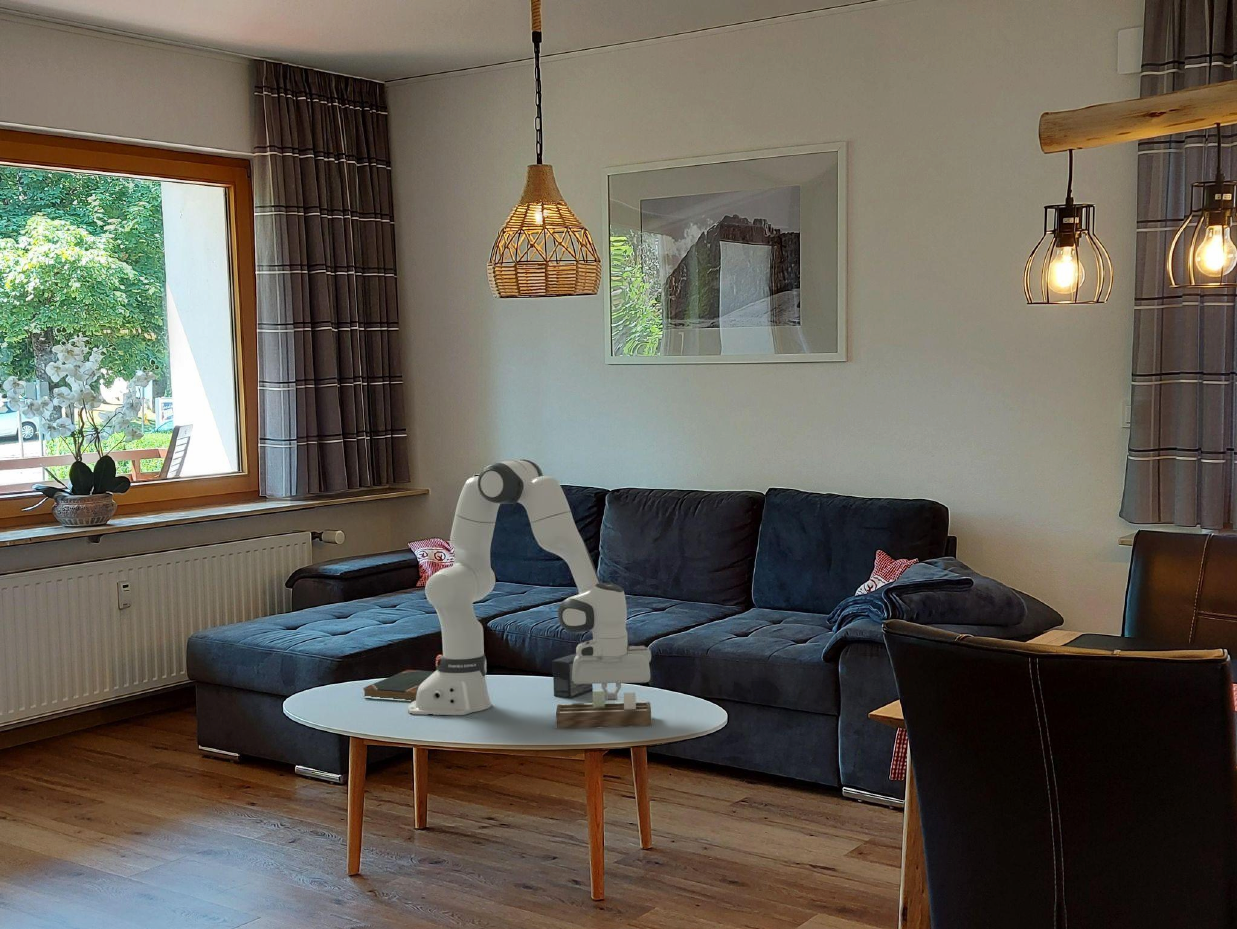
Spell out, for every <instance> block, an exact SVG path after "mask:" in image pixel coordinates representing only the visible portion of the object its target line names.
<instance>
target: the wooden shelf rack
mask: <svg viewBox="0 0 1237 929" xmlns="http://www.w3.org/2000/svg"><path fill="white" fill-rule="evenodd" d="M556 706H557V707H556V712H555V721H556V722H555V725H556V726H555V727H556V728H555V729H556V730H561V729H563V730H565V729H570V730H571V729H597V727H604V728H629V726H638V727H651V726H652V706H651V701H636V709H625V710H624V701H623V702H619V701H618V702H605V707H593V702H592V703H591V702H590V703H589V702H588V703H586V702H584V703H583V702H576V703H575V702H573V703H561V704H557V705H556ZM650 725H651V726H650Z"/></svg>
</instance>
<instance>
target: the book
mask: <svg viewBox="0 0 1237 929" xmlns="http://www.w3.org/2000/svg"><path fill="white" fill-rule="evenodd" d="M434 672H435V671H432V670H430V671H428V670H417V669H416V670H415V669H406V670H404V671H401V672H399V673H396V674H394V675H392V676H390V677H387V678H385V679H381V680H379V681H376V682H374V683H371V684H369V685H367V686H365V687H363V688H362V690H363V691H364V694H363V696H364V697H365V696H371V697H380V698H393V699H405V700H411V701H415V700H416V694H417V690H418V687H419V686H420V684H421V683H422V682H423V681H425V680H426V679H427V678H428V677H429V676H430V675H432V674H433V673H434Z"/></svg>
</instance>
